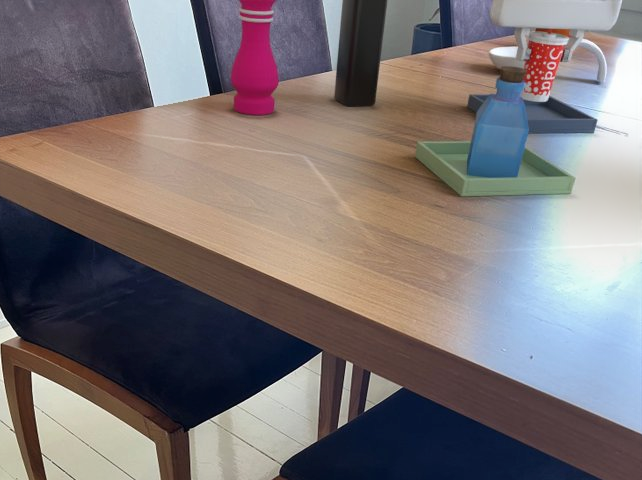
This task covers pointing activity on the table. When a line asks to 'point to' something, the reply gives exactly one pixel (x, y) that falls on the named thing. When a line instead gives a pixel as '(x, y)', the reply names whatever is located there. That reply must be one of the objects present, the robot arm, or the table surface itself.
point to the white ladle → (508, 58)
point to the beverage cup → (542, 64)
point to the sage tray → (531, 178)
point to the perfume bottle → (500, 129)
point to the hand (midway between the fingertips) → (542, 60)
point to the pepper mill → (255, 60)
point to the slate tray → (548, 116)
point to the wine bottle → (359, 51)
